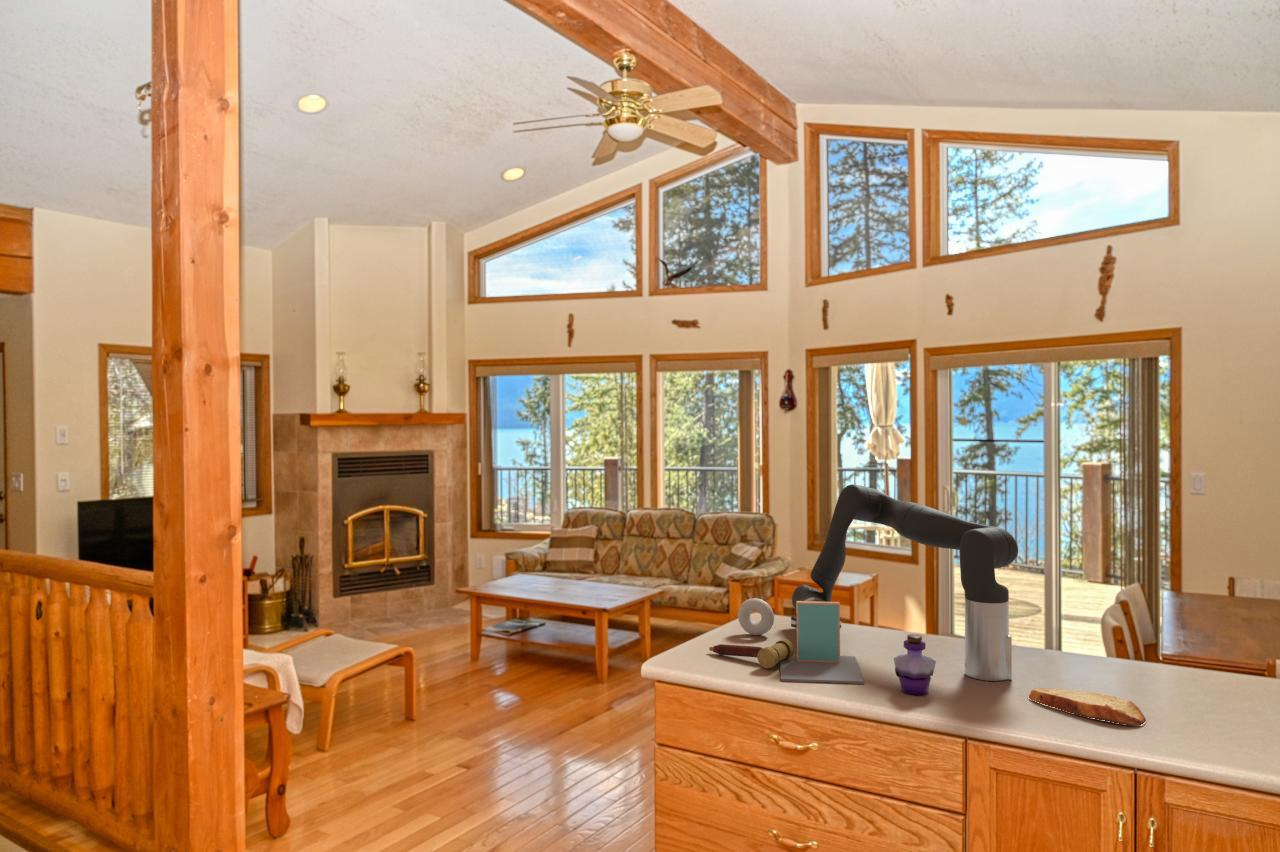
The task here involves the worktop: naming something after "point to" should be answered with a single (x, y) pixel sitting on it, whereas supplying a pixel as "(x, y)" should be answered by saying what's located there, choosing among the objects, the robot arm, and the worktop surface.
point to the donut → (762, 608)
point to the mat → (821, 671)
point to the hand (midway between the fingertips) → (818, 630)
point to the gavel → (759, 652)
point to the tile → (818, 631)
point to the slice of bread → (1090, 705)
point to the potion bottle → (914, 667)
